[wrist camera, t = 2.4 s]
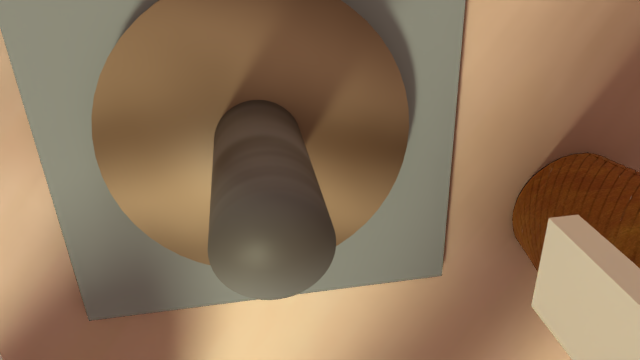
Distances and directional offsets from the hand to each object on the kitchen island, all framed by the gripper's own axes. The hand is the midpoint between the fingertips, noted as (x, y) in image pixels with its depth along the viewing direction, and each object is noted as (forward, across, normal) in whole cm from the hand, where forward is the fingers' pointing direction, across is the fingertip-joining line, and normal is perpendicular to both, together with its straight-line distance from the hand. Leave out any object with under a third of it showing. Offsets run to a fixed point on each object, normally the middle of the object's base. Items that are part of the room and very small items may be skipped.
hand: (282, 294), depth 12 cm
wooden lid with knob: (+12, 0, 0) cm, 12 cm away
